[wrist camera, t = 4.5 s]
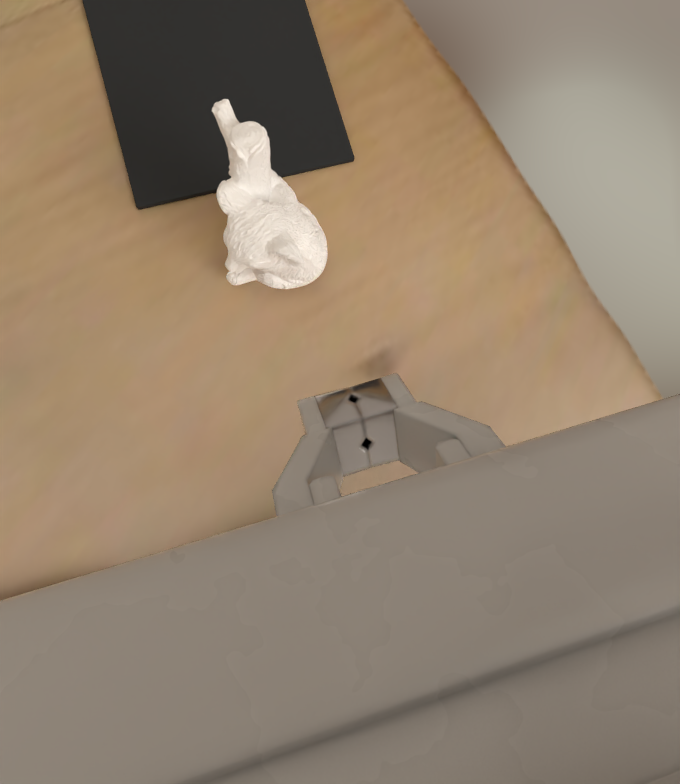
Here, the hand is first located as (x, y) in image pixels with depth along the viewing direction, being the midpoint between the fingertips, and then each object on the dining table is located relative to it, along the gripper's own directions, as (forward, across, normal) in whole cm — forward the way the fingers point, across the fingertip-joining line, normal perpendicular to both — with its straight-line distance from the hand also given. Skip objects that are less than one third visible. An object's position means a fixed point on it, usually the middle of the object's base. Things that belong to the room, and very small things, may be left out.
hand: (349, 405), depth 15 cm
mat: (+34, 0, -8) cm, 35 cm away
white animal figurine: (+24, 0, +4) cm, 24 cm away
